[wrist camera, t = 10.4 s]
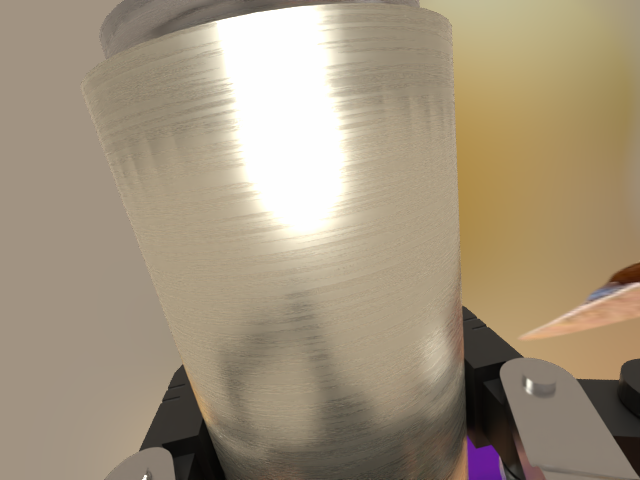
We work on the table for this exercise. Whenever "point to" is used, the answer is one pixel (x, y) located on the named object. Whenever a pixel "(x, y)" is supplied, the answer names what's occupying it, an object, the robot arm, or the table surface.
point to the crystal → (483, 463)
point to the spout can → (298, 224)
